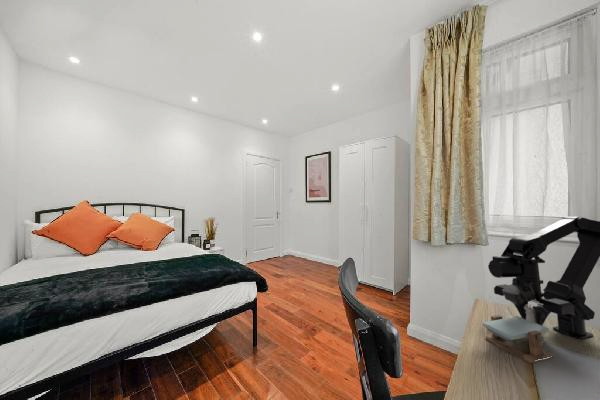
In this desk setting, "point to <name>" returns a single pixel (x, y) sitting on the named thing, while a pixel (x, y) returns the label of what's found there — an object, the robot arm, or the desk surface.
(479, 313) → the desk surface
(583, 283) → the robot arm
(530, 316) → the rook chess piece
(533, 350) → the flap frame
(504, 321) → the pivoting flap
